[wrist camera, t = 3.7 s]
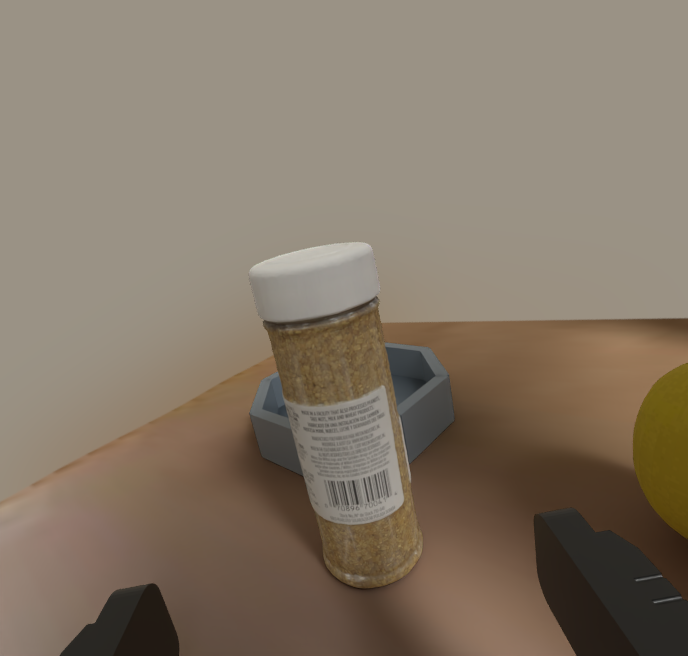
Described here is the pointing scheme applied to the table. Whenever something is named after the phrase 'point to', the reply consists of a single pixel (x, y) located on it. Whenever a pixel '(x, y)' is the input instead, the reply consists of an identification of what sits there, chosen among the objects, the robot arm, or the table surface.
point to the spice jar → (342, 407)
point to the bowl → (411, 398)
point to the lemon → (665, 448)
